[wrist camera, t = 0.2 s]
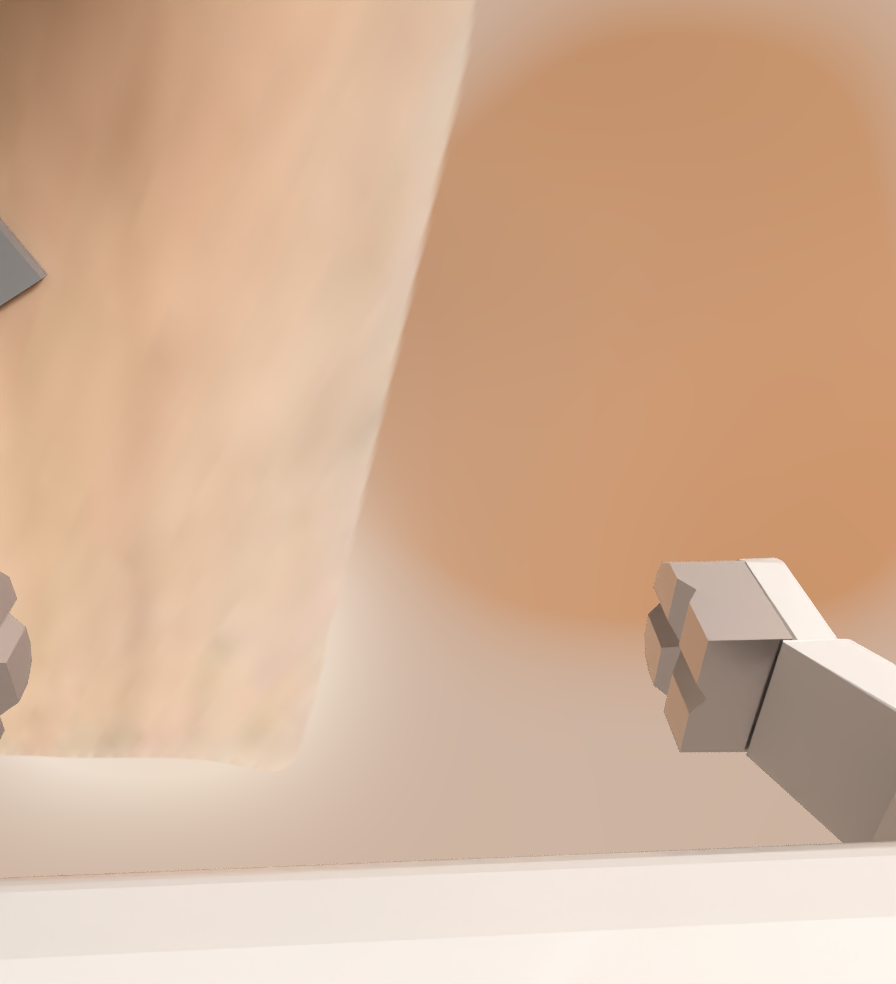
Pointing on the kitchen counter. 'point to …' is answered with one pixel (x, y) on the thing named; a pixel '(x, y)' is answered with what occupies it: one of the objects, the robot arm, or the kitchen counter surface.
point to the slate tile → (15, 266)
